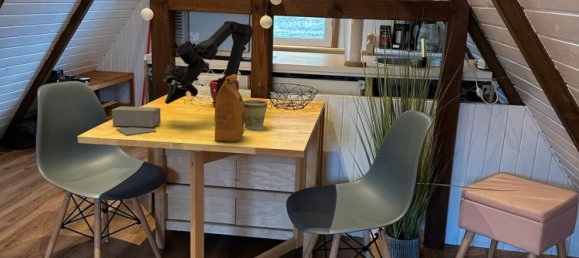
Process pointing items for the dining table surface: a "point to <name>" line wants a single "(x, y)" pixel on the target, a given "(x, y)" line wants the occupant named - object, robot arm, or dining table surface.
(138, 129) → the mat
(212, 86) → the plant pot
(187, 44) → the robot arm
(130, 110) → the skincare box
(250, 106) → the ceramic cup
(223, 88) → the coffee package
